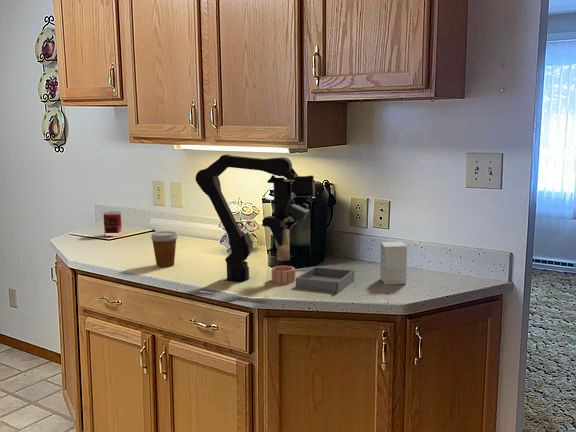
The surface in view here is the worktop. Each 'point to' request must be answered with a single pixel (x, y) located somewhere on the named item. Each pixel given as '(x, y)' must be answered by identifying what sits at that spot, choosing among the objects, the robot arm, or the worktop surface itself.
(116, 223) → the canned food
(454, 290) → the worktop surface
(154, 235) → the disposable coffee cup
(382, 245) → the supplement box
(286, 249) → the dowel
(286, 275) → the pink short hollow cylinder
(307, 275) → the tray
